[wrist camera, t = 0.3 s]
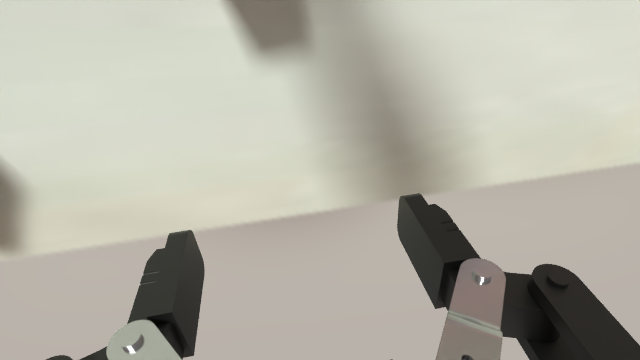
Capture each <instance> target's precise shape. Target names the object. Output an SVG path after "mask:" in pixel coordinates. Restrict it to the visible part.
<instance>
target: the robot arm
mask: <svg viewBox="0 0 640 360" xmlns="http://www.w3.org/2000/svg"><path fill="white" fill-rule="evenodd" d="M397 225H398V226H397V228H398V235H399V238H400V241H401V243H402V245H403V246H404V248H405V251H406V252H407V254H408V256H409V258H410V260H411V262H412V264H413V266H414V268H415V270H416V272H417V274H418V276H419V278H420V280H421V282H422V284H423V286H424V288H425V290H426V291H427V293H428V295H429V297H430V299H431V301H432V303H433V305H434V307H435V309H437V308H442V307H446V308H447V310H448V314H447V318H446V322H445V326H444V329H443V333H442V338H441V341H440V345H439V349H438V353H437V357H436V360H500V355H501V347H502V337H511V338H517V340H518V341H519V343H520V345H521V346H522V348H523V350H524V351H525V353H526V355H527V356H528V358H529V359H530V360H640V345H639V344H638V343H637V342H636V341H635V340H634V339H633V338H632V337H631V335H630V334H629V333H628V332H627V331H626V330H625V329H624V328H623V327H622V325H621V324H620V323H619V322H618V321H617V320H616V319H615V318H614V317H613V316H612V314H611V313H610V312H609V311H608V310H607V309H606V308H605V307H604V305H603V304H602V303H601V302H600V301H599V300H598V299H597V298H596V297H595V295H594V294H593V293H592V292H591V291H590V290H589V289H588V288H587V287H586V286H585V284H583V282H582V281H581V280H580V279H579V278H578V277H577V276H576V275H575V274H574V273H572V272H571V271H569V270H567V269H565V268H563V267H560V266H557V265H552V264H542V265H539V266H537V267H536V268H535V269H534V270H533V272H532V275H529V274H517V273H507V272H503V271H502V270H501V269H500V268H499V267H498V266H497V265H496V264H494V263H492V262H490V261H487V260H485V259H481V258H480V257H479V255H478V254H477V253H476V251H475V250H474V248H473V247H472V246H471V244H470V243H469V242H468V240H467V239H466V238H465V236H464V235H463V234H462V232H461V231H460V230H459V228H458V227H457V225H456V224H455V223H453V220H452V219H451V217H450V216H449V215H448V213H447V212H446V211H445V210H443V209H442V208H440V207H439V206H437V205H436V204H432V205H428V204H427V202H426V201H425V199H424V198H423V196H422V195H421V194H419V193H418V194H412V195H406V196H401V197H400V199H399V211H398V224H397ZM203 280H204V262H203V258H202V255H201V253H200V250H199V247H198V245H197V242H196V239H195V237H194V234H193V232H192V231H191V230H187V231H181V232H175V233H170V234H169V236H168V239H167V243H166V246H165V248H163V249H157V250H156V251H155V252H154V253H153V255H152V256H151V257H150V258H149V260H148V261H147V263H146V266H145V270H144V276H142V279H141V282H140V284H141V285H140V286H139V289H138V292H137V295H136V298H135V301H134V305H133V308H132V311H131V314H130V317H129V320H128V323H127V325H125V326H123V327H122V328H121V329H119V330H118V331H117V332H116V333H115V334H114V335H113V337H112V338H111V340H110V341H109V344H108V346H107V347H105V348H103V349H101V350H100V351H97V352H95V353H93V354H91V355H89V356H86V357H84V358H82V359H80V360H182V359H183V358H184V357H189V356H193V355H194V349H195V341H196V334H197V327H198V319H199V312H200V304H201V296H202V288H203ZM46 360H72V359H71V358H70V357H68V356H64V355H62V356H61V355H59V356H54V357H51V358H49V359H46Z"/></svg>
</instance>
